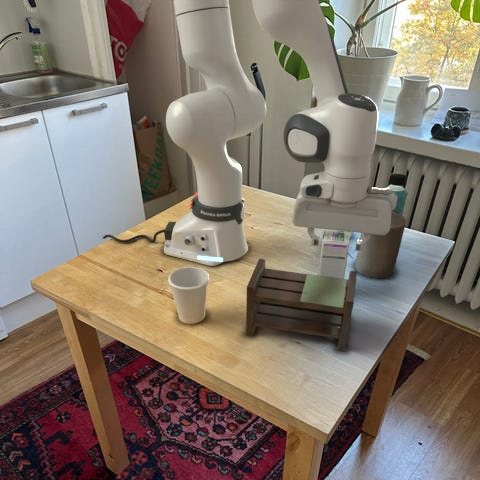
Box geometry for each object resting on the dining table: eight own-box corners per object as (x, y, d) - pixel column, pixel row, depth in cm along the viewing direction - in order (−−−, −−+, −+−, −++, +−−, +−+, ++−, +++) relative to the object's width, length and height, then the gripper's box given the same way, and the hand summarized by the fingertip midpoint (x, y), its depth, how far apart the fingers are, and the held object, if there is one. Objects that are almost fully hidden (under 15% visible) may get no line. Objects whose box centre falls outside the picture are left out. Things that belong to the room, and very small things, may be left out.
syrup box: (341, 299, 103) (351, 243, 94) (315, 296, 104) (322, 240, 95) (342, 285, 107) (351, 230, 98) (317, 283, 108) (324, 228, 99)
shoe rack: (245, 335, 93) (246, 287, 85) (257, 304, 101) (259, 258, 94) (344, 351, 89) (353, 302, 82) (347, 318, 97) (356, 271, 90)
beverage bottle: (366, 241, 125) (381, 169, 112) (390, 240, 125) (406, 169, 113) (374, 253, 119) (390, 179, 107) (398, 252, 120) (417, 178, 108)
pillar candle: (402, 271, 112) (416, 215, 103) (373, 283, 108) (386, 226, 99) (373, 255, 119) (385, 201, 110) (346, 265, 115) (355, 210, 105)
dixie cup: (168, 309, 100) (163, 270, 94) (204, 301, 102) (202, 263, 96) (178, 331, 94) (173, 291, 88) (216, 322, 96) (214, 283, 90)
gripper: (399, 184, 90) (385, 245, 99) (297, 175, 94) (293, 235, 103) (399, 196, 85) (385, 260, 94) (292, 186, 89) (288, 248, 98)
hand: (336, 247), depth 98 cm, fingers open, 8 cm apart
